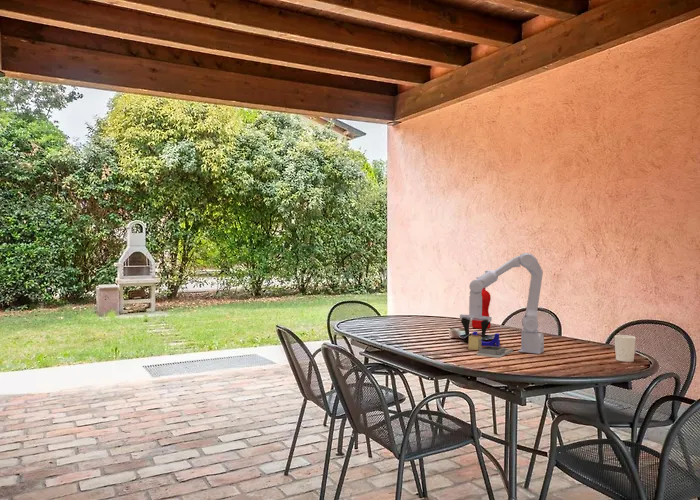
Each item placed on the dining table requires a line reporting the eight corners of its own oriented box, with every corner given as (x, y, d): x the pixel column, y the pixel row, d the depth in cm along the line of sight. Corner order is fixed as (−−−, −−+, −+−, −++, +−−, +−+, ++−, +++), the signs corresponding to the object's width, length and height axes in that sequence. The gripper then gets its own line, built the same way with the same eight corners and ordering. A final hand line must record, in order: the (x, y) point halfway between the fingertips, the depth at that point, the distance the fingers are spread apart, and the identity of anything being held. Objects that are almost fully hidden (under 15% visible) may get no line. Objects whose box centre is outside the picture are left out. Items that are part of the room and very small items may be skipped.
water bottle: (477, 326, 331) (477, 283, 331) (492, 328, 323) (493, 284, 322) (467, 327, 325) (467, 284, 325) (482, 329, 317) (483, 285, 317)
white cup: (624, 362, 230) (624, 338, 230) (610, 358, 238) (610, 335, 238) (639, 361, 232) (640, 337, 232) (625, 358, 240) (625, 334, 240)
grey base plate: (512, 351, 252) (513, 345, 252) (499, 357, 237) (499, 351, 237) (491, 348, 258) (491, 342, 258) (476, 355, 243) (476, 348, 243)
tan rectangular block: (481, 348, 258) (481, 335, 258) (477, 350, 254) (478, 336, 254) (472, 347, 260) (472, 334, 260) (468, 349, 257) (468, 335, 257)
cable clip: (499, 345, 267) (500, 333, 267) (497, 347, 263) (497, 334, 263) (474, 343, 273) (475, 331, 273) (472, 345, 269) (472, 332, 269)
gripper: (457, 305, 258) (456, 335, 258) (487, 308, 250) (487, 338, 250) (463, 304, 264) (462, 333, 264) (493, 306, 256) (492, 336, 256)
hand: (475, 336), depth 257 cm, fingers open, 7 cm apart
